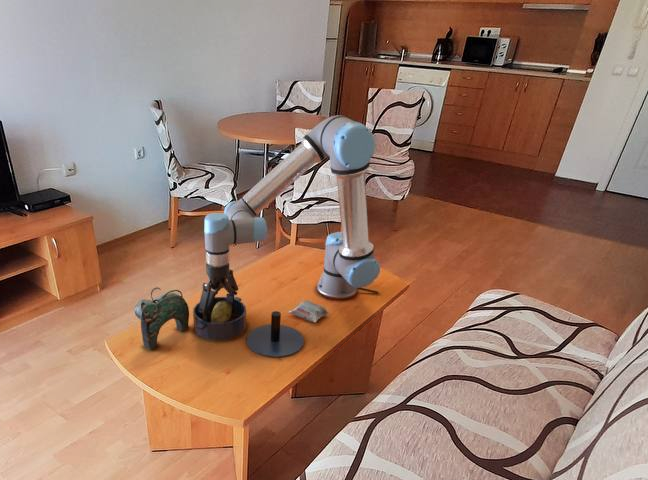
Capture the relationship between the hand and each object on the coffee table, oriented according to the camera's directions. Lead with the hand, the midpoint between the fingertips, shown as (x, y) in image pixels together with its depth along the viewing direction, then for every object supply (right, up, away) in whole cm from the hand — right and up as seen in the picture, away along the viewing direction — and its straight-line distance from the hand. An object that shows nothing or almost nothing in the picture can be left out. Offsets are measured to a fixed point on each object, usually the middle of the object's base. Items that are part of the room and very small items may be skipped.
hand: (219, 319), depth 173 cm
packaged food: (+32, +1, +6) cm, 32 cm away
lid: (+19, -8, -7) cm, 21 cm away
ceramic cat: (-18, -7, -3) cm, 20 cm away
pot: (0, -3, +2) cm, 3 cm away
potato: (0, -3, +2) cm, 3 cm away
